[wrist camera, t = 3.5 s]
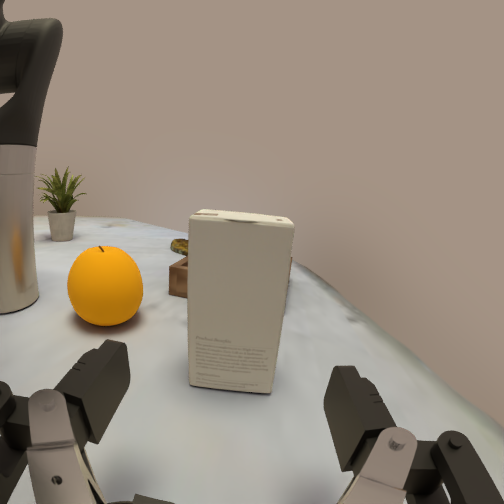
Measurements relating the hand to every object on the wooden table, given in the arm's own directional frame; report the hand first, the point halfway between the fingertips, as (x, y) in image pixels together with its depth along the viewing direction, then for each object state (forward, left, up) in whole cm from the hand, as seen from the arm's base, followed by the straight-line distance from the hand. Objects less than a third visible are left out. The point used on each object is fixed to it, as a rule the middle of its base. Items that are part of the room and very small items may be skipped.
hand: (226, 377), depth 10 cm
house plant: (-50, +38, -7) cm, 63 cm away
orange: (-16, +13, -7) cm, 21 cm away
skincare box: (-2, +9, -7) cm, 12 cm away
